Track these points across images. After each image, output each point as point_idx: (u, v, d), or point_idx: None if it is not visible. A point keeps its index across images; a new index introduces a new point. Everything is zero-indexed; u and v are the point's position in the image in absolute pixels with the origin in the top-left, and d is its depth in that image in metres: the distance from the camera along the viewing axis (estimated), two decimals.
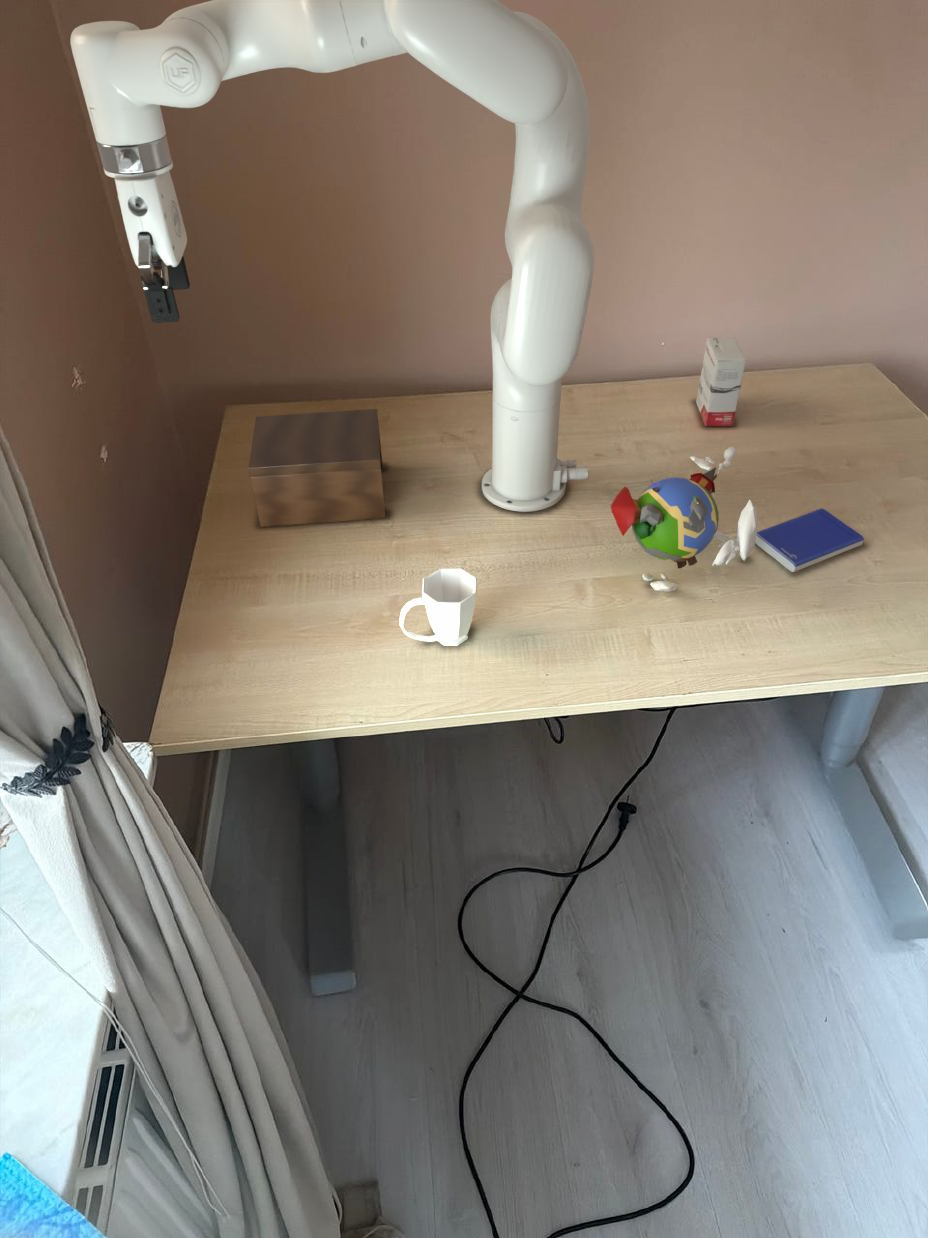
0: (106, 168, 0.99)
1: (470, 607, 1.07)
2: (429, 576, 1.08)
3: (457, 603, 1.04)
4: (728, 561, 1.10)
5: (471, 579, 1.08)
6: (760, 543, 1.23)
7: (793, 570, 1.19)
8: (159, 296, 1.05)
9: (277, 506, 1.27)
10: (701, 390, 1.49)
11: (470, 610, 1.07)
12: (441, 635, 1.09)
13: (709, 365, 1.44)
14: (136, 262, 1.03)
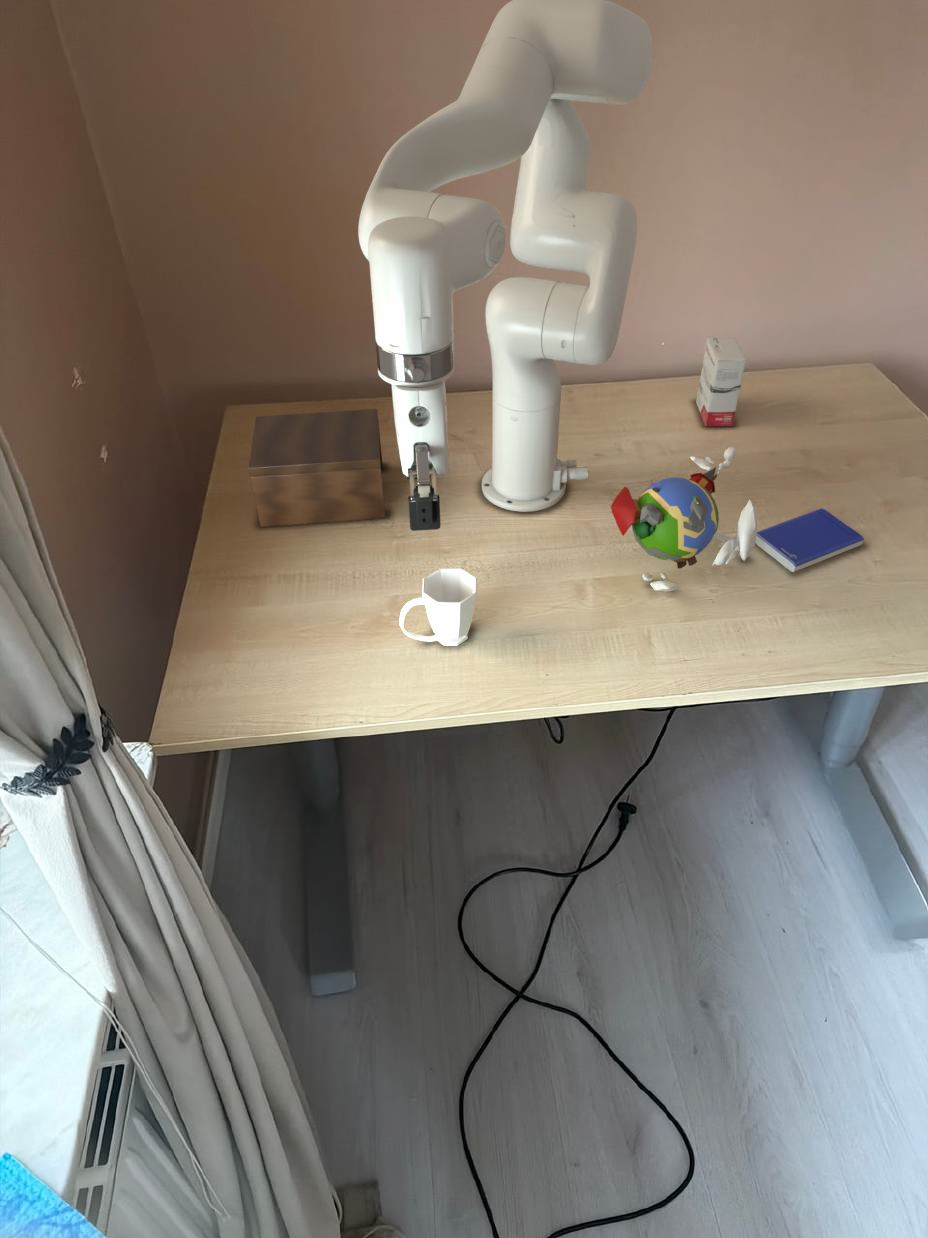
0: (385, 374, 0.86)
1: (470, 607, 1.07)
2: (429, 576, 1.08)
3: (457, 603, 1.04)
4: (728, 561, 1.10)
5: (471, 579, 1.08)
6: (760, 543, 1.23)
7: (793, 570, 1.19)
8: (425, 506, 0.92)
9: (277, 506, 1.27)
10: (701, 390, 1.49)
11: (470, 610, 1.07)
12: (441, 635, 1.09)
13: (709, 365, 1.44)
14: (405, 471, 0.90)
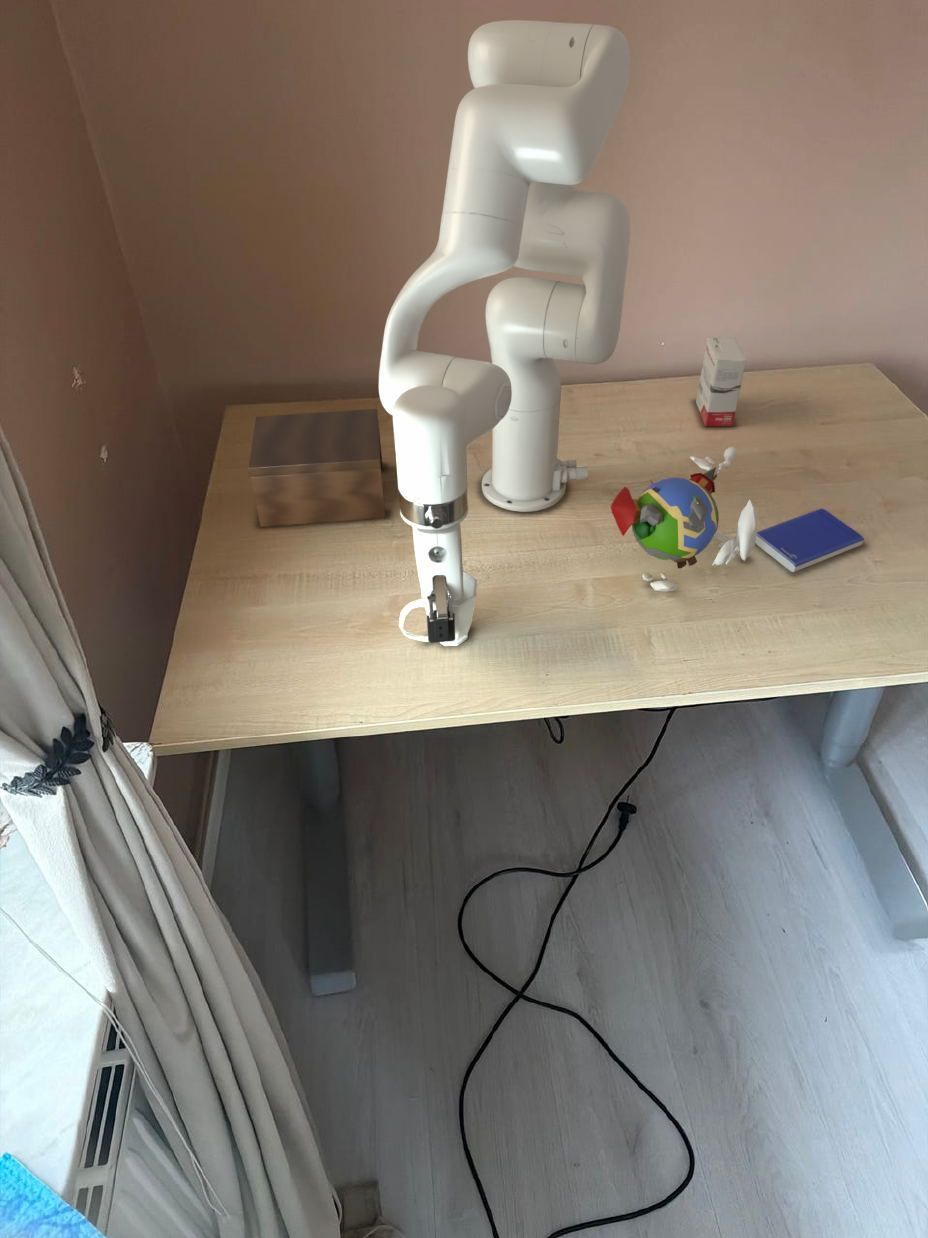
0: (407, 518, 0.96)
1: (470, 609, 1.06)
2: None
3: (457, 606, 1.04)
4: (728, 561, 1.10)
5: (471, 580, 1.07)
6: (760, 543, 1.23)
7: (793, 570, 1.19)
8: (442, 624, 1.04)
9: (277, 506, 1.27)
10: (701, 390, 1.49)
11: (470, 612, 1.07)
12: None
13: (709, 365, 1.44)
14: (425, 598, 1.01)
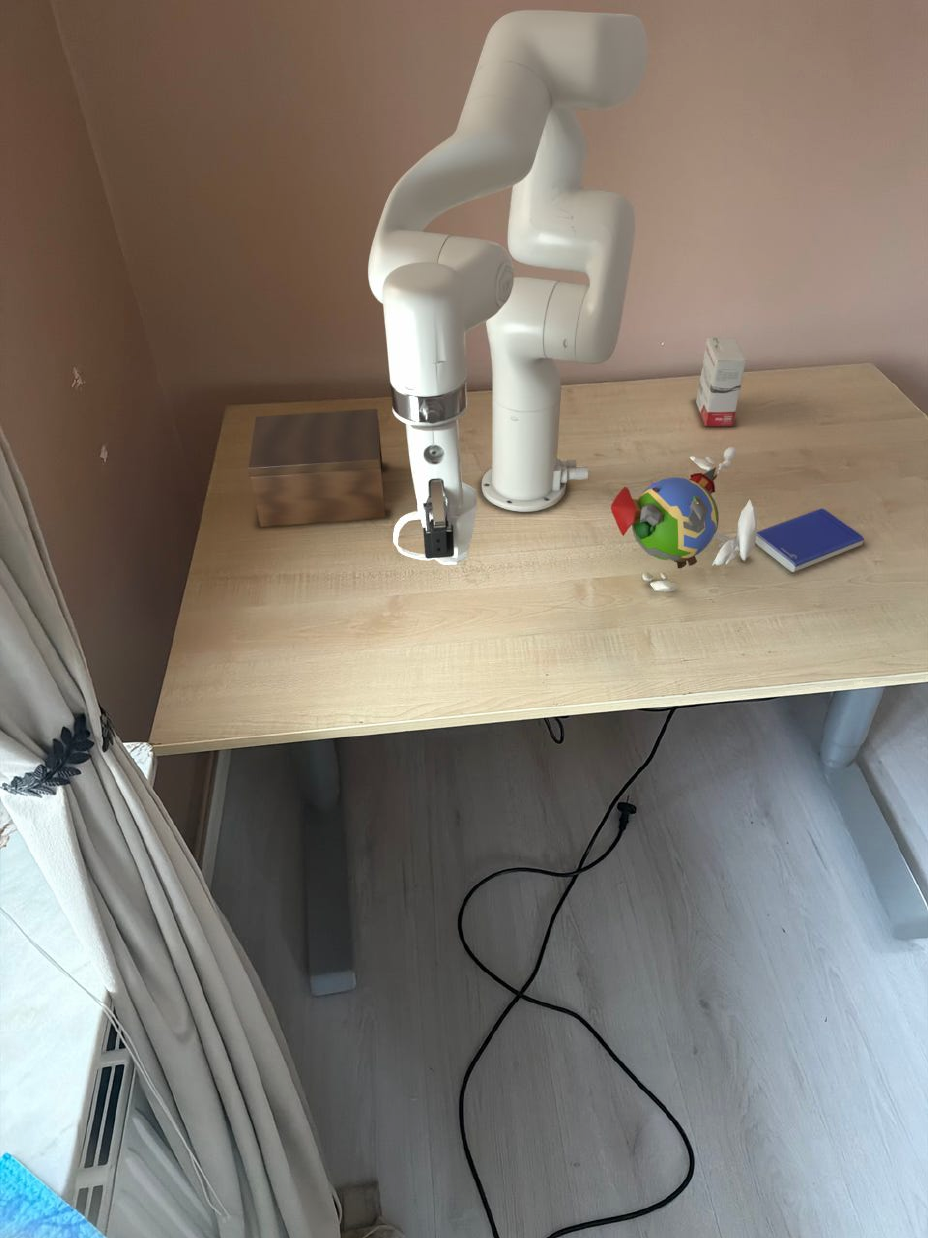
0: (400, 414, 0.88)
1: (470, 522, 0.98)
2: None
3: (456, 517, 0.96)
4: (728, 561, 1.10)
5: (471, 491, 0.99)
6: (760, 543, 1.23)
7: (793, 570, 1.19)
8: (440, 537, 0.96)
9: (277, 506, 1.27)
10: (701, 390, 1.49)
11: (469, 525, 0.99)
12: None
13: (709, 365, 1.44)
14: (420, 506, 0.93)
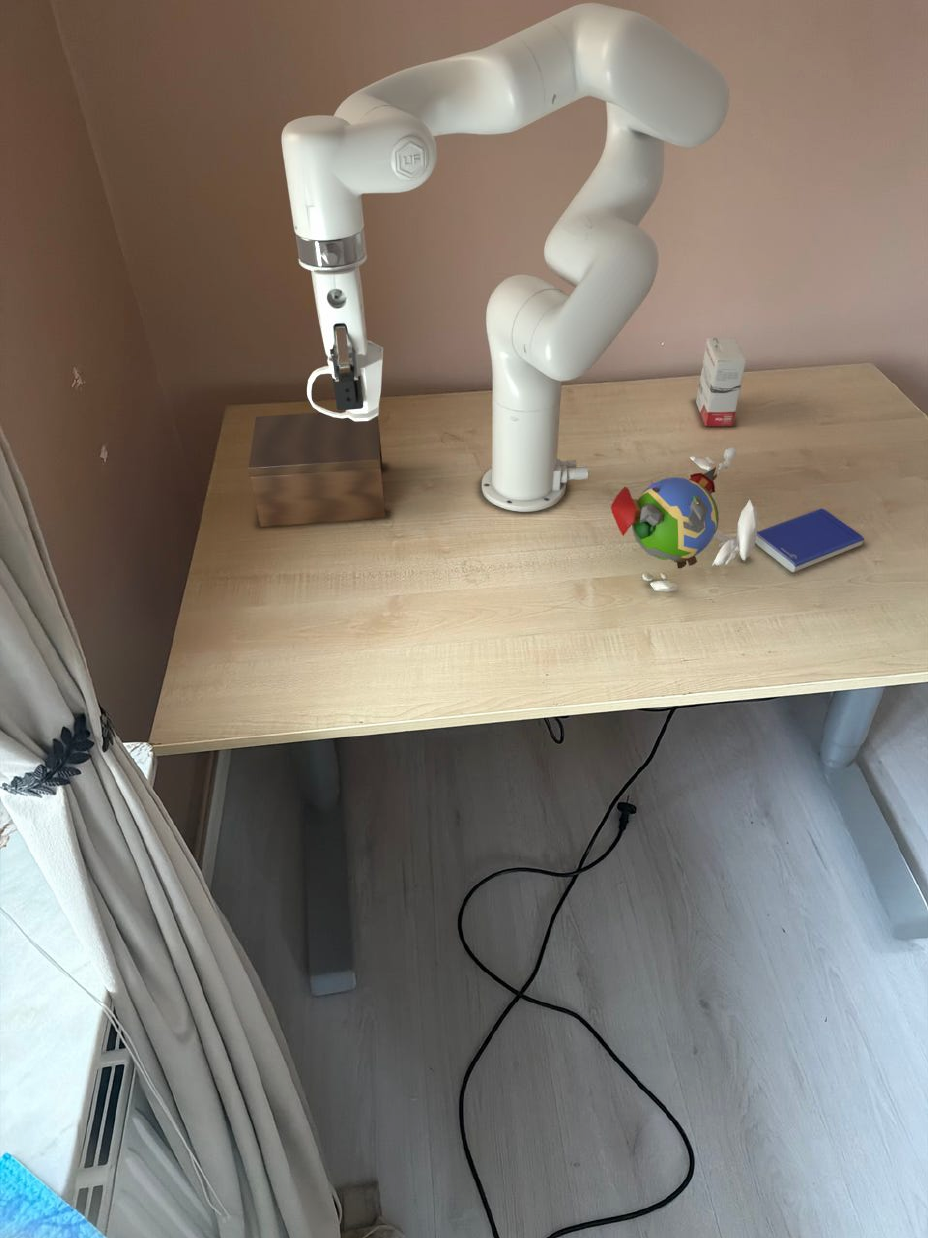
0: (304, 261, 0.97)
1: (377, 375, 1.07)
2: None
3: (362, 367, 1.04)
4: (728, 561, 1.10)
5: (378, 349, 1.08)
6: (760, 543, 1.23)
7: (793, 570, 1.19)
8: (348, 386, 1.05)
9: (277, 506, 1.27)
10: (701, 390, 1.49)
11: (377, 379, 1.07)
12: None
13: (709, 365, 1.44)
14: (327, 352, 1.01)
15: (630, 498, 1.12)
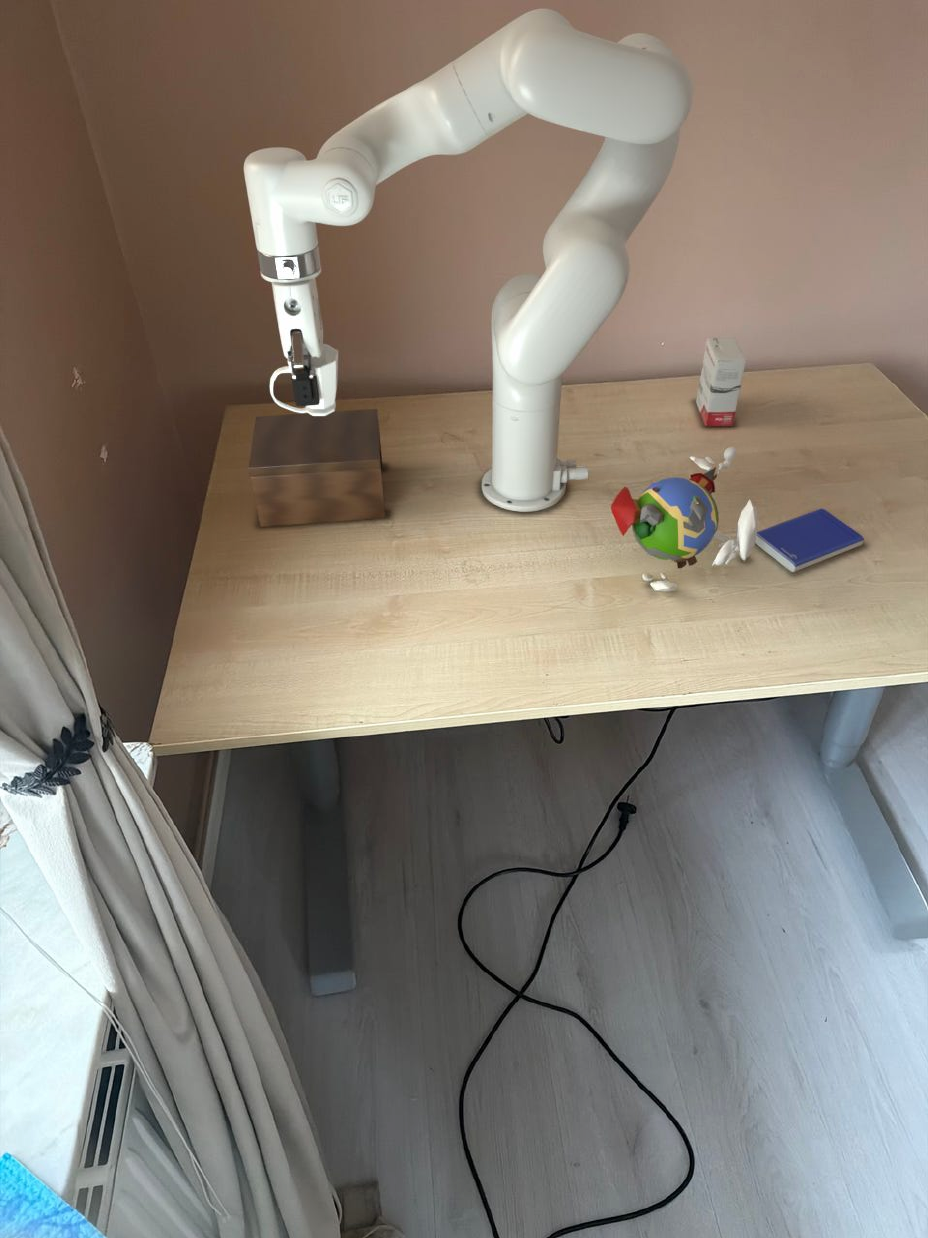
0: (265, 273, 1.10)
1: (331, 375, 1.20)
2: None
3: (317, 368, 1.18)
4: (728, 561, 1.10)
5: (333, 352, 1.21)
6: (760, 543, 1.23)
7: (793, 570, 1.19)
8: (305, 384, 1.18)
9: (277, 506, 1.27)
10: (701, 390, 1.49)
11: (331, 379, 1.20)
12: None
13: (709, 365, 1.44)
14: (285, 354, 1.14)
15: (630, 498, 1.12)
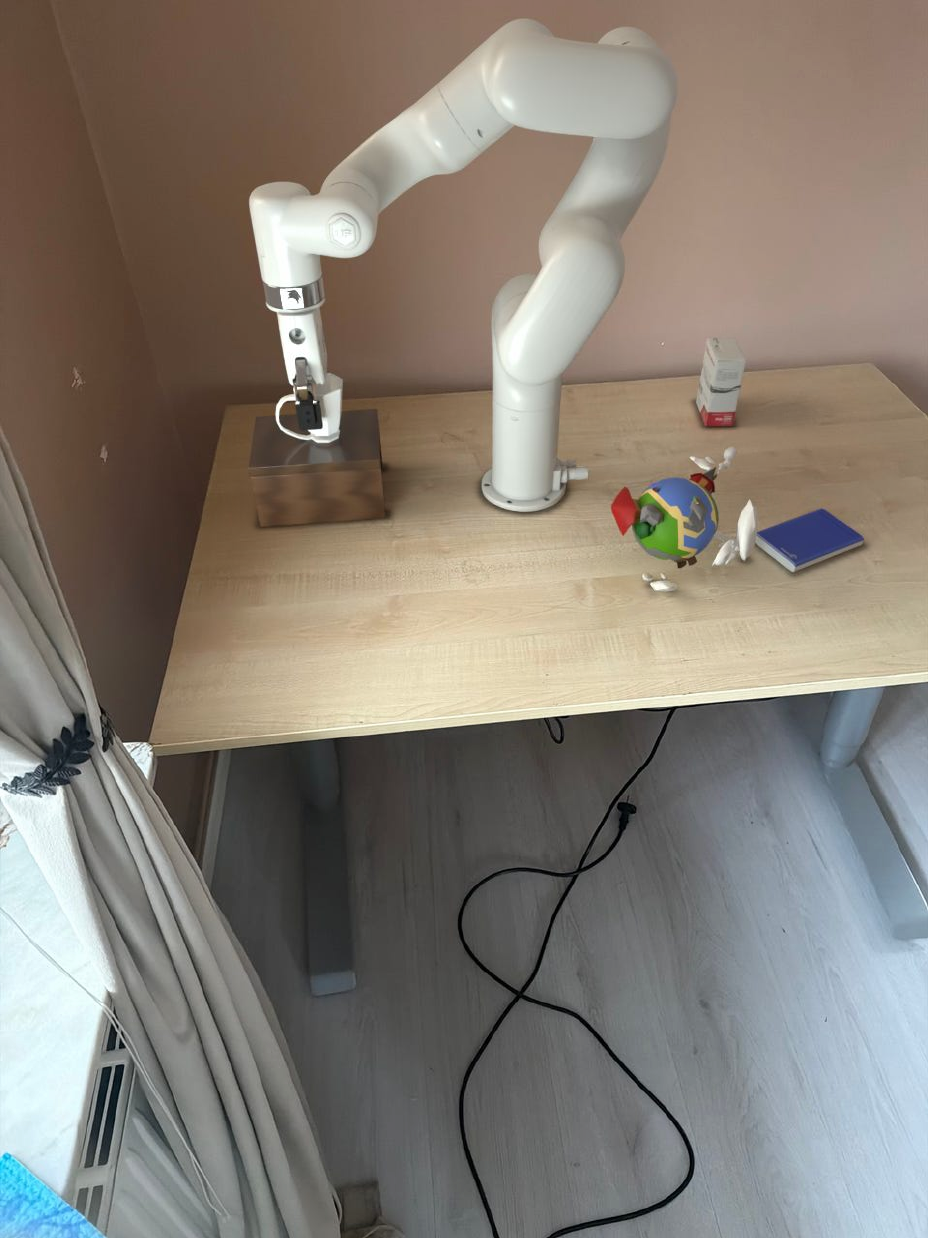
0: (270, 304, 1.12)
1: (336, 403, 1.23)
2: None
3: (322, 395, 1.21)
4: (728, 561, 1.10)
5: (338, 381, 1.24)
6: (760, 543, 1.23)
7: (793, 570, 1.19)
8: (308, 409, 1.19)
9: (277, 506, 1.27)
10: (701, 390, 1.49)
11: (336, 406, 1.24)
12: (313, 431, 1.26)
13: (709, 365, 1.44)
14: (290, 381, 1.17)
15: (630, 498, 1.12)
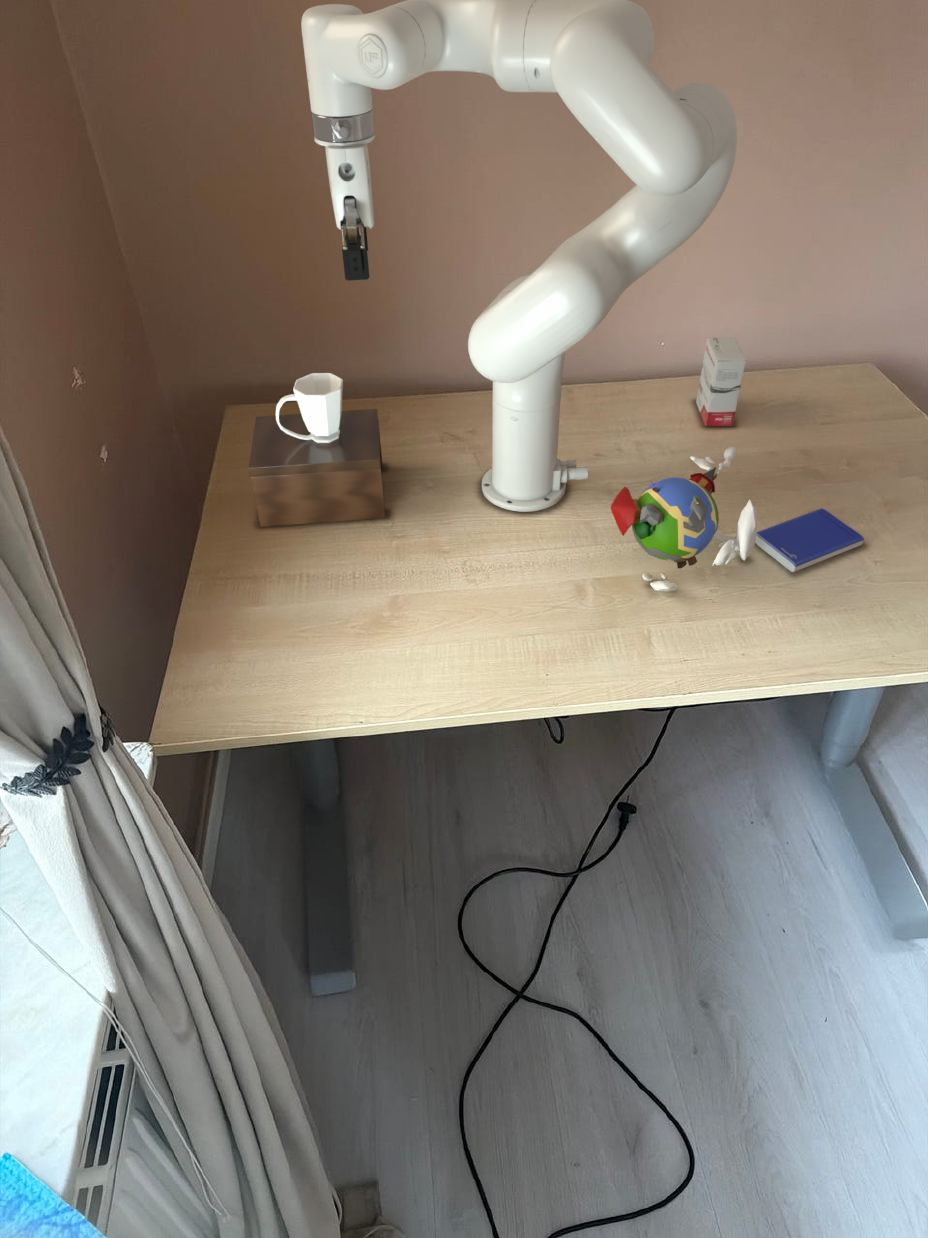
0: (319, 137, 1.09)
1: (336, 403, 1.23)
2: (302, 378, 1.24)
3: (322, 395, 1.21)
4: (728, 561, 1.10)
5: (338, 381, 1.24)
6: (760, 543, 1.23)
7: (793, 570, 1.19)
8: (356, 255, 1.16)
9: (277, 506, 1.27)
10: (701, 390, 1.49)
11: (336, 406, 1.24)
12: (313, 431, 1.26)
13: (709, 365, 1.44)
14: (338, 224, 1.14)
15: (630, 498, 1.12)
